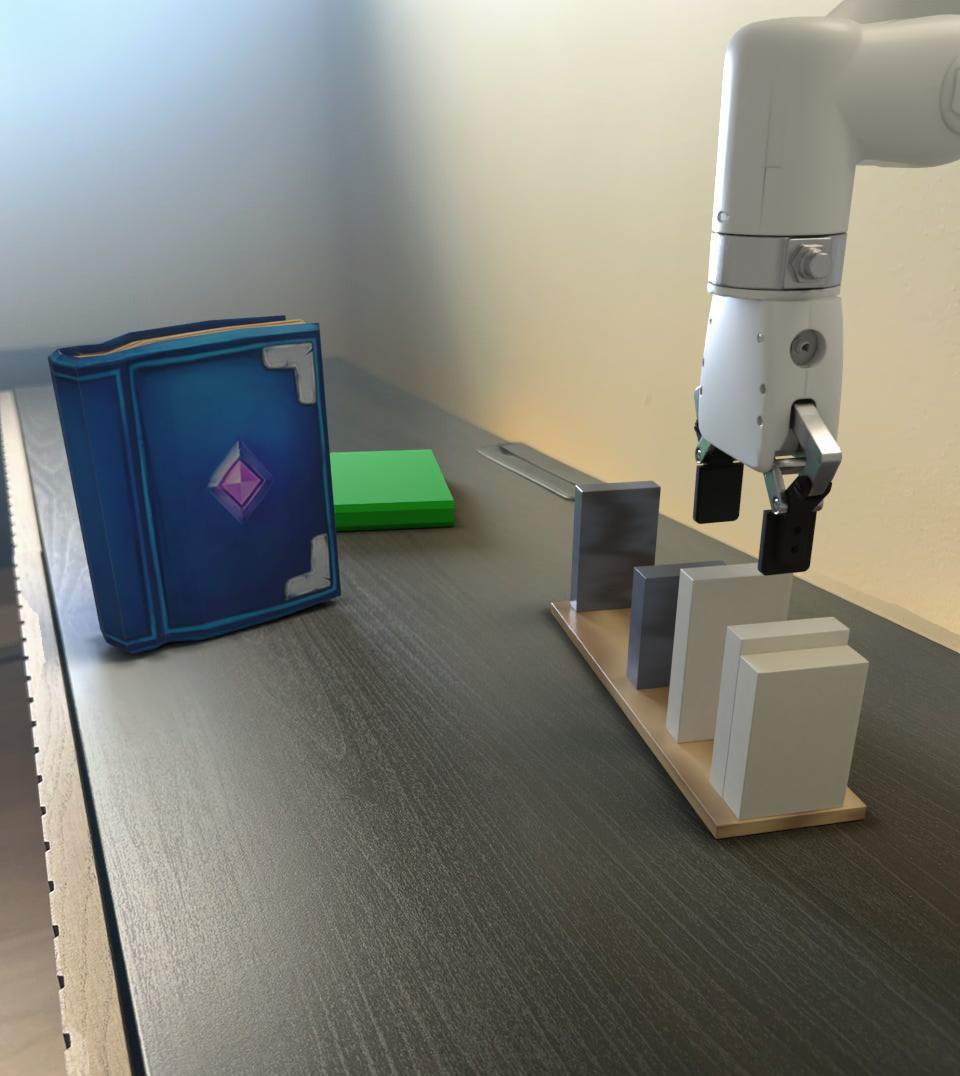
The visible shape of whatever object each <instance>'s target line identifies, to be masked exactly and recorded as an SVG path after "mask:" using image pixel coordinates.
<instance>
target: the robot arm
mask: <svg viewBox="0 0 960 1076" xmlns="http://www.w3.org/2000/svg"><path fill="white" fill-rule="evenodd" d="M723 64H724V65H723V71H722V86H721V88H722V89H721V100H720V101H721V102H720V113H719V128H718V144H717V156H716V169H715V181H714V182H715V183H714V195H713V211H712V221H711V222H712V223H711V232H710V247H709V259H708V273H707V288H706V292H707V293H709V294H710V295H711V294H712V298H711V304H710V307H709V308H710V309H709V315H708V320H707V327H706V332H705V340H704V347H703V355H702V364H701V373H700V382H699V385H698V386H697V387H695V389H694V392H693V399H694V407H695V414H696V415H695V416H696V420H695V421H694V426H693V429H694V432H695V434H696V438H697V445H696V447H695V449H694V459H695V462H696V464H697V465H696V470H695V480H694V495H693V496H694V497H693V507H692V508H693V509H692V520H693V521H694V522H695V523H697V524H698V525H705V524H707V525H708V524H715V523H727V522H735V521H737V520H738V519H739V517H740V512H741V501H742V490H743V481H744V480H743V478H744V470H745V469H744V468H745V466H746V467H748V468H749V469H751V470H754V471H755V472H757V473H760V474H762V475H763V479H764V483H765V488H766V493H767V496H768V500H769V506H770V509H763V512H762V520H761V531H760V541H759V548H758V549H759V550H758V560H757V563H758V571H759V572H760V573H762V574H763V575H765V576H768V575H778V574H788V573H793V574H796V573H805V572H807V571H809V569H810V568H811V562H812V553H813V545H814V538H815V530H816V522H817V514H818V512H820V511H821V510H822V509H823V507H824V504H825V503H824V502H825V501H824V500H825V498H826V497H827V496H828V495H829V494H830V493H831V490H832V488H833V487H832V486H833V479H834V478H835V476H836V474H837V471H838V469H839V467H840V465H841V463H842V461H843V452H842V450H841V448H840V446H839V445H838V435H839V424H840V414H841V401H842V390H843V389H842V387H843V371H844V369H843V368H844V316H843V305H842V304H843V303H842V297H840V296H839V295H840V294H841V286H842V279H843V273H844V263H845V256H846V248H847V241H848V233H847V232H848V231H849V223H850V216H851V207H852V199H853V191H854V184H855V176H856V168H857V166H859V167H860V166H862V167H863V166H868V167H869V166H870V167H871V166H874V167H878V168H891V169H892V168H897V169H921V168H922V169H926V168H927V169H928V168H935V167H940V166H944V165H948V164H951V163H954V162H958V161H959V160H960V0H841V1H840V2H839V3H838V4H837V5H836V6H835V7H834V8H833V9H832V10H831V11H829V12H828V13H827V14H826V15H824V16H792V17H791V16H789V17H779V18H777V17H776V18H769V19H764V20H763V19H762V20H758V21H754V22H751V23H748V24H746V25H744V26H742V27H740V29H738V30H737V31H736V32H735V33H734V34H733V36H732V37H731V38H730V40H729V42H728V44H727V47H726V50H725V55H724V63H723ZM790 456H792V457H790ZM777 457H778V458H777ZM779 457H785V458H779ZM786 475H797V477H796V478H794V479H793V481H792V482H791V483H790V484H789V485H788V487H787V488H786V486H785V481H784V477H783V476H786Z"/></svg>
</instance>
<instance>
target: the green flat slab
mask: <svg viewBox="0 0 960 1076" xmlns="http://www.w3.org/2000/svg"><path fill="white" fill-rule="evenodd" d="M330 462H331V474H332V487H333V499H334V511H335V524H336V532H350V531H352V532H355V531H375V530H378V531H379V530H396V529H399V530H401V529H424V528H445V527H446V528H447V527H455V522H456V521H455V518H456V517H455V516H456V515H455V500H454V496H453V495H452V493H451V490H450V488H449V486H448V484H447V482H446V479H445V477H444V475H443V472H442V470H441V467H440V466H439V463H438V462H437V459H436V457H435V455H434V452H433V449H431V448H430V449H400V450H397V449H396V450H375V451H374V450H372V451H371V450H370V451H368V450H367V451H341V452H340V451H339V452H330Z"/></svg>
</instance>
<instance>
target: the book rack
mask: <svg viewBox="0 0 960 1076" xmlns="http://www.w3.org/2000/svg"><path fill="white" fill-rule="evenodd" d="M661 490H662V487H661V486H660V484H659V483H656V482H655V481H654V480H637V481H622V482H620V481H619V482H607V483H603V482H602V483H589V484H587V483H586V484H576V485H575V489H574V512H573V530H572V531H573V533H572V552H571V553H572V554H571V577H570V593H569V594H570V597H569V600H563V601H552V602H550V613H551V615H552V616H553V617H554V618H555V620H556V622H557V624H559V625H560V627H561V628H562V630H563V631H564V632H565V634H566V635H567V636H568V638H569V639H570V641H571V642H572V643H573V644H574V646H575V648H576V649H577V650H578V652H579V653H580V654H581V656H582V658H584V660H585V661H586V663H587V664H588V665H589V667H590V669H591V670H592V671H593V672H594V674H595V675H596V676H597V678H598V679H599V681H600V682H601V683H602V685H603V686H604V687H605V689H606V690H607V692H608V693H609V694H610V696H611V697H612V698H613V700H614V701H615V703H616V704H617V705H618V707H619V708H620V709H621V711H622V712H623V713H624V715H625V716H626V718H627V719H628V720H629V722H630V723H631V724H632V726H633V728H634V729H635V730H636V731H637V733H638V734H639V735H640V737H641V738H642V740H643V741H644V742H645V744H646V745H647V746H648V748H649V750H651V752H652V753H653V754H654V756H655V758H656V759H657V760H658V761H659V763H660V764H661V766H662V767H663V768H664V770H665V772H667V774H668V775H669V777H670V778H671V780H672V781H673V782H674V783H675V785H676V786H677V788H678V789H679V790H680V792H681V793H682V794H683V796H684V798H685V799H686V800H687V802H688V803H689V804H690V806H691V807H692V808H693V810H694V811H695V813H696V814H697V815H698V817H699V818H700V819H701V820H702V822H703V824H704V825H705V826H706V828H707V830H709V832H710V833H711V835H712V836H713V837H714V838H715V840H720V839H726V838H727V839H728V838H734V837H735V838H736V837H741V836H749V835H755V834H756V835H757V834H764V833H772V832H777V831H779V832H780V831H786V830H795V829H801V828H810V827H816V826H822V825H823V826H824V825H829V824H830V825H831V824H837V823H838V824H839V823H846V822H852V821H860V820H865V818H866V812H867V805H866V804H865V802H863V801H862V800H861V799H860V797H858V795H856V793H854V792H853V791H852V790H851V788H850V787H849V786H847V789H846V794H845V800H844V806H843V807H837V808H829V809H822V810H814V811H806V812H799V813H791V814H784V815H776V816H768V817H761V818H753V819H746V820H739V819H738V818H737V817H736V815H735V814H734V813H733V812H732V810H731V809H730V808H729V807H728V805H727V804H726V803H725V801H724V800H723V799H722V798H721V797H720V795H719V794H718V793H717V791H716V790H715V789H714V788H713V786H712V785H711V784H710V782H709V781H710V772H711V764H712V755H713V746H714V739H712V740H704V741H695V742H686V743H677V742H676V741H675V739H674V738H673V737H672V736H671V734H670V733H669V732H668V730H667V729H666V721H667V710H668V699H669V688H670V677H671V667H672V656H673V645H674V634H675V623H676V612H677V602H678V591H679V580H680V570H681V569H684V568H697V567H709V566H722V565H728V563H726V562H725V561H724V560H710V561H695V562H681V563H671V564H670V563H669V564H657V565H655V564H656V555H657V554H656V552H657V539H658V527H659V518H660V517H659V515H660V504H661V492H662V491H661Z"/></svg>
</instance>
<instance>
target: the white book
mask: <svg viewBox="0 0 960 1076" xmlns="http://www.w3.org/2000/svg"><path fill="white" fill-rule="evenodd" d="M793 581H794V573H788V574H778V575H768V576H765V575H763V574H762V573H760V572H759V571H758V562H750V563H736V564H735V563H734V564H727V565H722V566H709V567H697V568H684V569H681V570H680V580H679V591H678V602H677V612H676V623H675V634H674V645H673V656H672V667H671V677H670V688H669V699H668V710H667V721H666V729H667V730H668V732H669V733H670V734H671V736H672V737H673V738H674V739H675V741H676V742H677V743H686V742H695V741H704V740H712V739H714V738H715V729H716V720H717V711H718V703H719V694H720V685H721V677H722V668H723V659H724V651H725V642H726V633H727V626H734V625H745V624H756V623H767V622H778V621H788V616H789V609H790V600H791V593H792V587H793Z"/></svg>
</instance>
